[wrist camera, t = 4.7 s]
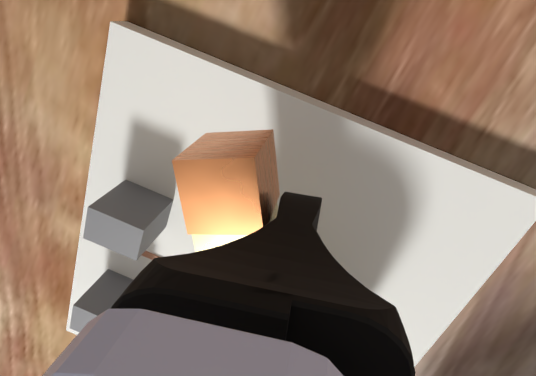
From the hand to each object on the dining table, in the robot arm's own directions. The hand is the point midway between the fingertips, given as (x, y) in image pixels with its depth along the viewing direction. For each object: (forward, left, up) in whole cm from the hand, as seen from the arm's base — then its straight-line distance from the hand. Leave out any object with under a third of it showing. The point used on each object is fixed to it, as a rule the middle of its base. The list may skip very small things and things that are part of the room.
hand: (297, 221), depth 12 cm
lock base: (0, +6, -5) cm, 8 cm away
